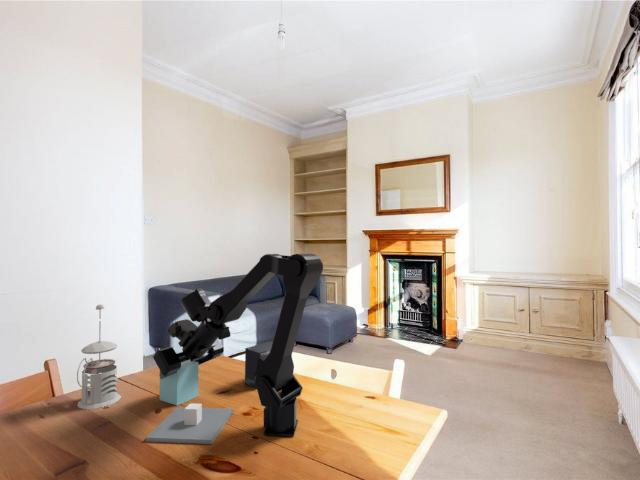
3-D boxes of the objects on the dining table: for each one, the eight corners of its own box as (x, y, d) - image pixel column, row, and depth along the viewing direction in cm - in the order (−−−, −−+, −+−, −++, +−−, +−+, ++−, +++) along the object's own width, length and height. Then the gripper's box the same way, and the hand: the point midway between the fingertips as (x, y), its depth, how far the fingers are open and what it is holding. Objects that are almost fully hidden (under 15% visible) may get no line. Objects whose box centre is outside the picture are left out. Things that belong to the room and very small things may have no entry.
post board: (233, 412, 87) (233, 394, 87) (211, 444, 73) (212, 422, 73) (177, 410, 88) (177, 392, 88) (145, 441, 74) (145, 420, 74)
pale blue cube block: (198, 395, 97) (198, 362, 97) (177, 405, 91) (177, 369, 91) (181, 390, 100) (181, 358, 100) (159, 399, 94) (159, 365, 94)
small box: (259, 389, 101) (259, 352, 101) (243, 384, 105) (243, 348, 105) (285, 378, 109) (285, 343, 109) (269, 374, 113) (269, 340, 113)
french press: (129, 393, 98) (129, 301, 99) (98, 413, 87) (99, 309, 87) (95, 392, 99) (95, 301, 100) (61, 411, 88) (61, 308, 88)
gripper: (216, 305, 102) (189, 339, 107) (158, 317, 86) (129, 356, 91) (237, 336, 98) (208, 370, 103) (180, 355, 82) (149, 394, 87)
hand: (175, 371), depth 96 cm, fingers open, 9 cm apart
